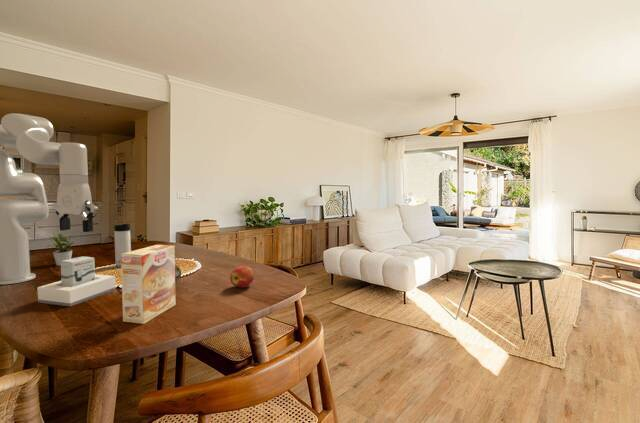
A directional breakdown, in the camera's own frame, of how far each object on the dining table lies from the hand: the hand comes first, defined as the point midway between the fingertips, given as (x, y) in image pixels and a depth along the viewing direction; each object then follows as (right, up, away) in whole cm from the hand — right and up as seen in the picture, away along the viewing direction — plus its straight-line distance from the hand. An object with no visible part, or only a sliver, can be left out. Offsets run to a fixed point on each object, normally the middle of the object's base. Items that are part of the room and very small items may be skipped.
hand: (76, 230), depth 110 cm
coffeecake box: (+32, -24, -12) cm, 42 cm away
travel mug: (-9, -19, +41) cm, 46 cm away
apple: (+53, -22, +13) cm, 59 cm away
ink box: (0, -22, +1) cm, 22 cm away
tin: (+22, -22, +14) cm, 34 cm away
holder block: (0, -22, +1) cm, 22 cm away
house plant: (-39, -19, +42) cm, 60 cm away
